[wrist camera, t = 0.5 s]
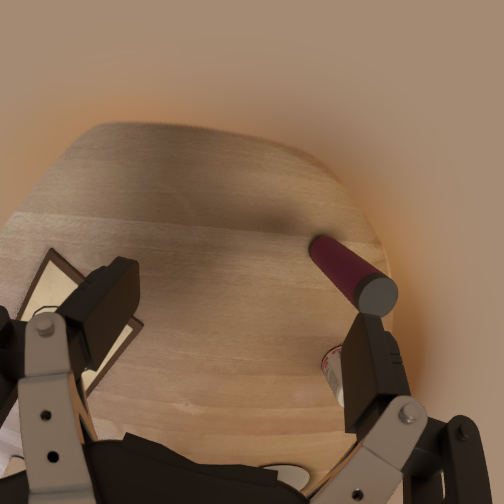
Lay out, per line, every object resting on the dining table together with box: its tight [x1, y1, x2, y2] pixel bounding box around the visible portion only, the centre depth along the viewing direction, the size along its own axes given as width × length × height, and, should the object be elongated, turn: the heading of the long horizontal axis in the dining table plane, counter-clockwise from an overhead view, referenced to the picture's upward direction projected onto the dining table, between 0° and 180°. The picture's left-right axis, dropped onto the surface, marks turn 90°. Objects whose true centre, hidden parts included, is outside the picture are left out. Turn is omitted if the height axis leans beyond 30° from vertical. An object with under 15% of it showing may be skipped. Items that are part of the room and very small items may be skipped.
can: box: [2, 457, 26, 478], centre depth 32 cm, size 7×7×12 cm
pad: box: [16, 248, 144, 398], centre depth 30 cm, size 13×18×1 cm
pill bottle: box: [322, 346, 344, 407], centre depth 31 cm, size 5×5×8 cm
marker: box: [310, 236, 398, 318], centre depth 25 cm, size 3×3×12 cm
